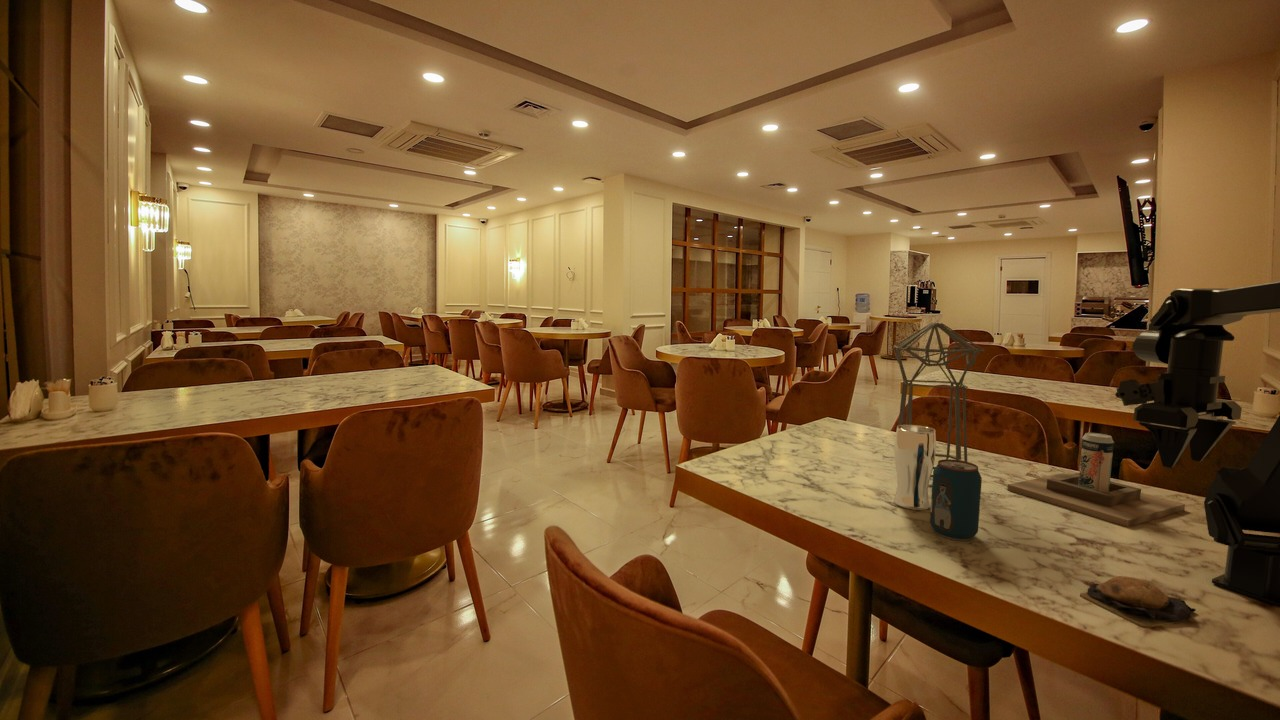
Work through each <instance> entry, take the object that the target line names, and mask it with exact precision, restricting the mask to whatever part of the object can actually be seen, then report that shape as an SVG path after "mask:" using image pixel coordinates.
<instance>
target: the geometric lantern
mask: <svg viewBox="0 0 1280 720" xmlns="http://www.w3.org/2000/svg"><path fill="white" fill-rule="evenodd" d="M939 329H940V330H941V331H942V332H944V333H945V335H947V336H948V337H949V338H950V339H951V340H952V341H953V342H954V343H955V344H956V346H955V345H954V346H945V347H944V345H943V342H942V338H941V335H940V332H939V331H940V330H939ZM929 331H930V332H929ZM928 332H929V336H928V339H927V342H926V344H925V348H923V347H914V346H913V345H914V344H915V343H916V342H918V341H919V340H920V339H921V338H922V337H924V335H926V334H927V333H928ZM934 332H935V334H936V339H937V344H938V349H936V348H935V349H933V348H930V346H931V344H932V340H933V336H934ZM892 348H893V351H894V354H895V355H894V356H895V357H896V361H897V363H898V365H899V369H900V373H901V376H902V386H901V387H902V388H901V395H900V396H901V397H900V406H899V417H898V422H897V423H898V424H897V426H899V425H904V422H905V425H913V398H914V397H913V396H914V395H913V394H914V390H913V389H914V387H923V388H925V387H926V388H939V389H940V388H942V389H950V391H949V392H950V394H949V406H948V407H949V408H948V409H949V411H948V425H947V427H948V428H947V442H946V443H947V444H946V445H947V447H946V454H939V453H936V454H935V457H939V458H945V459H949V458H950V459H952V460H961V461H966V462H968V441H967V440H968V438H967V437H968V436H967V404H966V403H967V402H966V401H967V397H966V389H968V386H967V385H965V384H964V380H965V376H966V374H967V373H968V370H969V368H970V367H972V366H973V367H974V366H975V364H976V358H977V356H978V355H979V353H980V352H985V351H986V350H985V349H983V348H982V347H981V346H979V345H977V344H976V343H974V342H972V341H971V340H969V339H968V338H966V337H964V336H963V335H961V334H960V333H958V332H957V331H956V330H953V329H952V328H950V327H949V326H948V325H946V324H944V323H942V322H941V323H940V322H931V323H929V324H927V325H926V326H924V327H922V328H921V329H919V330H917V331H915V332H914V333H912V334H911V335H909V336H908V337H905V338H904V339H903V340H901V341H899V342H898V343H896V344H894V345H893V346H892ZM901 351H905V352H906V353H908V354H910V355H911V356H912V357H913V358H916V360H917V361H919V362H921V364H920V365H919V367H918V368H917V369H916V371H915V372H914V374H913V376H912V377H911V379H907V378H908V377H907V376H906V372H905V368H904V365H903V362H902V357H901V355H902V354H901ZM913 351H917V352H923V353H925V357H922V356H920V355H918V354H917V353H914V352H913ZM930 353H939V357H938V360H932V359H931V358H930ZM959 353H960V355H957V356H955V357H952V358H950V359H948V360H946V358H948V357H950V356H951V355H953V354H959ZM961 353H962V354H961ZM970 354H972V355H971V359H970ZM965 356H966V365H965V368H964V371H963V373H962V375H961V377H960V379H959V381H957V380H956V378H955V376H954V375H953V372H952V371H951V369H950V367H949V366H948V364H950V363H951V362H952V363H953V362H954V361H956V360H959V359H960V358H963V357H965ZM942 361H943V362H942ZM942 366H944V367H945V369H946V370H947V372H948V374H949V375H950V377H949V376H948V374H947V373H946V371H945V370H944V368H943V367H942ZM926 367H939V368H940V369H941V371H942V372H943V374H944V375H945V376H946V379H947V380H948V381H947V380H946V381H945V380H920V379H917V377H918V376H919V375H920V374H921V372H923V370H924V369H925V368H926ZM950 378H951V379H952V380H951V379H950ZM914 383H937V384H938V383H939V384H941V383H942V384H950V385H934V384H933V385H931V384H914ZM954 385H955V386H954ZM908 387H909V388H908ZM908 389H909V391H908ZM961 389H962V422H963V423H962V424H963V425H962V426H963V458H964V460H962V441H961V440H962V438H961V399H960V393H961V392H960V390H961ZM907 392H908V399H907ZM953 399H954V400H953ZM953 401H954V402H953ZM953 403H954V417H955V418H954V421H955V427H954V428H955V431H954V432H955V456H953V455H950V451H951V439H952V437H951V436H952V419H953V418H952V417H953V416H952V415H953ZM906 404H907V406H906ZM906 407H907V408H906ZM906 409H907V410H906ZM905 412H906V414H905ZM905 415H906V416H905ZM905 417H906V420H905ZM935 468H936V466H933V470H934V469H935ZM931 478H932V479H933V474H931V477H930V479H931ZM928 488H932V484H931V485H930V484H929V486H928Z"/></svg>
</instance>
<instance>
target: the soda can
mask: <svg viewBox="0 0 1280 720" xmlns="http://www.w3.org/2000/svg"><path fill="white" fill-rule="evenodd" d="M961 460H962V459H961ZM961 460H955V459H952V458H950V459H949V458H948V459H946V458H943V459H939V460H938V461H937V464H936V466H935V467H936V468H935V469H933V470H932V475H933V478H932V484H931V485H932V487H931V500H930V513H929V524H930V526H931V527H932V529H933V532H934V533H935V534H937V535H939V536H940V537H943V538H946V539H949V540H953V541H959V542H966V541H970V540H971V541H972V539H974V537H975V536H977V533H978V532H979V523H980V507H981V496H982V495H981V494H982V493H981V492H982V484H983V483H982V481H983V477H982V475H981V473H980V472H979V466H978V465H977V464H975V463H972V462H969V461H967V462H966V461H964V460H962V461H961Z"/></svg>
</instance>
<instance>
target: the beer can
mask: <svg viewBox="0 0 1280 720" xmlns="http://www.w3.org/2000/svg"><path fill="white" fill-rule="evenodd" d="M1081 438H1082V440H1081V451H1080V460H1079V461H1080V462H1079V472H1078V473H1079V482H1078V486H1082V487H1086V488H1090V489H1093V490H1097V491H1101V492H1105V493H1107V492H1109V485H1110V481H1111V473H1112V465H1113V464H1112V463H1113V455H1114V454H1113V453H1114V444H1115V441H1114V440H1113V437H1112V435H1109V434H1105V433H1104V434H1103V433H1098V432H1085V434H1084V435H1083V436H1082V437H1081Z"/></svg>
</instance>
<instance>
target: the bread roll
mask: <svg viewBox="0 0 1280 720" xmlns="http://www.w3.org/2000/svg"><path fill="white" fill-rule="evenodd" d="M1079 597H1080V598H1082V599H1084V600H1085V601H1088V602H1090V603H1091V604H1094V605H1096V606H1098V607H1100V608H1102V609H1103V610H1106V611H1108V612H1110V613H1112V614H1113V615H1116V616H1118V617H1120V618H1122V619H1124V620H1126V621H1127V622H1130V623H1132V624H1134V625H1136V626H1138V627H1140V628H1153V627H1154V628H1155V627H1161V626H1168V625H1174V624H1178V623H1181V622H1185V621H1188V620H1191V619H1194V618H1196V617H1198V616H1199V613H1197V612H1196V608H1192V607H1190V606H1189V605H1188V604H1187V603H1186V601H1185V600H1183V599H1181V598H1177V597H1173V596H1172V597H1171V596H1169V595H1168V594H1166V593H1164V592H1163V591H1162V590H1161V589H1160V588H1159V587H1157V586H1155V585H1154V584H1151V583H1150V582H1148V581H1145V580H1144V579H1140V578H1138V577H1137V578H1136V577H1133V576H1132V577H1131V576H1123V575H1121V576H1115V577H1112V578H1110V579H1107V580H1106V581H1104V582H1102V583H1091V584H1089V587H1088V588H1087V589H1086V592H1080V594H1079Z"/></svg>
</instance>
